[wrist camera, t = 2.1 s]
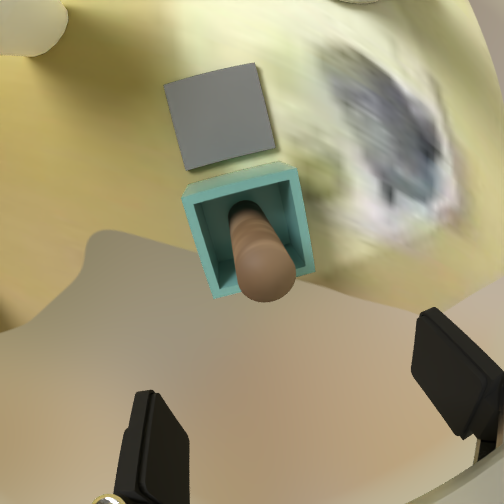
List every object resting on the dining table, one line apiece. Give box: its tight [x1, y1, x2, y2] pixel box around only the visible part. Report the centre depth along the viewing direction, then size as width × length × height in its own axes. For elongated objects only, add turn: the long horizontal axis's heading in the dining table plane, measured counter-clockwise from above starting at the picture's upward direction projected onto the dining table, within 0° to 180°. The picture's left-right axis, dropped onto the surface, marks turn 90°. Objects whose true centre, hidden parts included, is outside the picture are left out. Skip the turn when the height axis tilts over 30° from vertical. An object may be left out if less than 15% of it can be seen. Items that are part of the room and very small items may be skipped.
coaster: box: [163, 63, 276, 171], centre depth 24 cm, size 8×8×1 cm
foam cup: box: [0, 0, 68, 57], centre depth 12 cm, size 10×9×13 cm
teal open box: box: [181, 161, 315, 299], centre depth 25 cm, size 8×8×6 cm
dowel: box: [228, 200, 296, 302], centre depth 22 cm, size 3×3×12 cm
